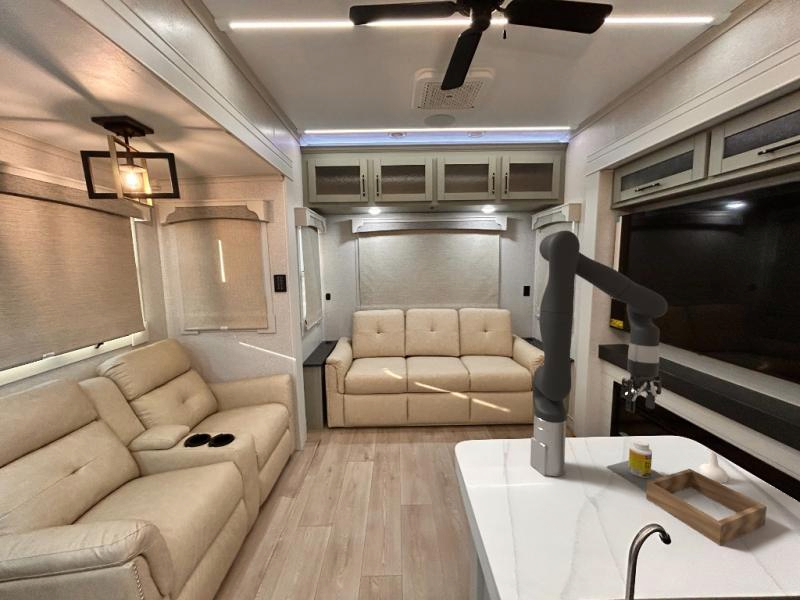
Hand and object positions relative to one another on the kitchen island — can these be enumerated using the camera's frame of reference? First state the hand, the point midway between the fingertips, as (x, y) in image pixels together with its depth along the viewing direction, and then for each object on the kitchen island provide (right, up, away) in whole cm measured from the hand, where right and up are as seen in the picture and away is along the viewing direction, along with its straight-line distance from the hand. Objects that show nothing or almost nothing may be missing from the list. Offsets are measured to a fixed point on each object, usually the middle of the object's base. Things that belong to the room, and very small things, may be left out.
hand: (640, 409), depth 97 cm
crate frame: (+5, -22, -15) cm, 27 cm away
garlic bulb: (+22, -21, -1) cm, 30 cm away
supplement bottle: (0, -20, +1) cm, 20 cm away
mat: (0, -21, +1) cm, 21 cm away
